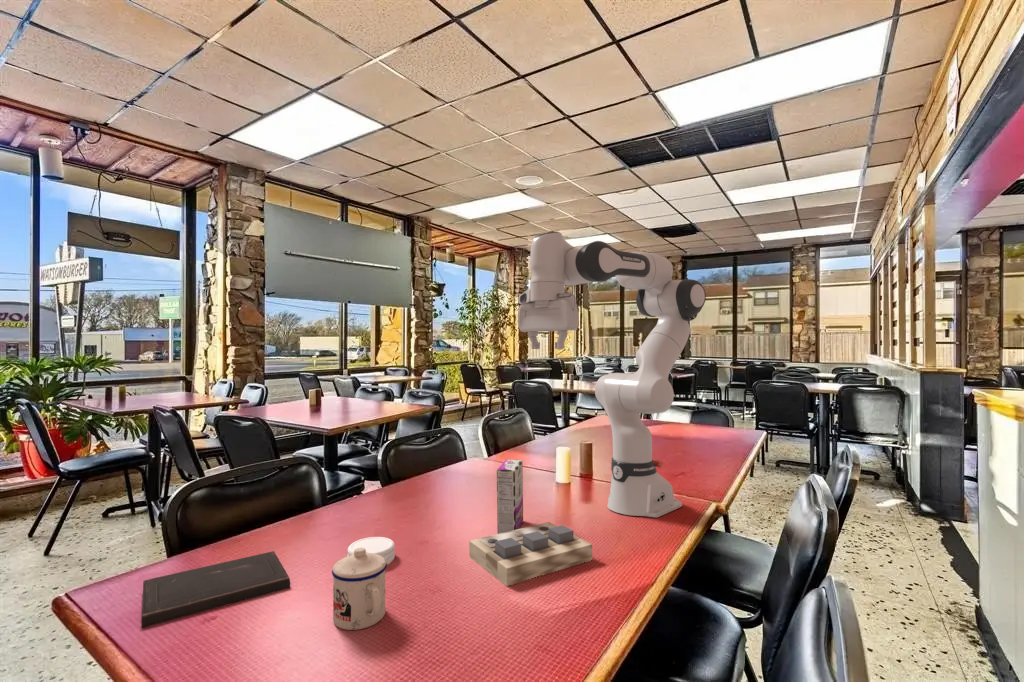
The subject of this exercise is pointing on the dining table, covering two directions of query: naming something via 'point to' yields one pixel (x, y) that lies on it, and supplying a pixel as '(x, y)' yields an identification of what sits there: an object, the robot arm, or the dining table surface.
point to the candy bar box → (509, 495)
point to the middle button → (535, 541)
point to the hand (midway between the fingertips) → (547, 349)
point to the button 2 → (560, 534)
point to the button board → (528, 555)
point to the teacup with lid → (359, 590)
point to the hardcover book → (211, 587)
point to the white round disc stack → (375, 547)
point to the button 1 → (507, 548)
